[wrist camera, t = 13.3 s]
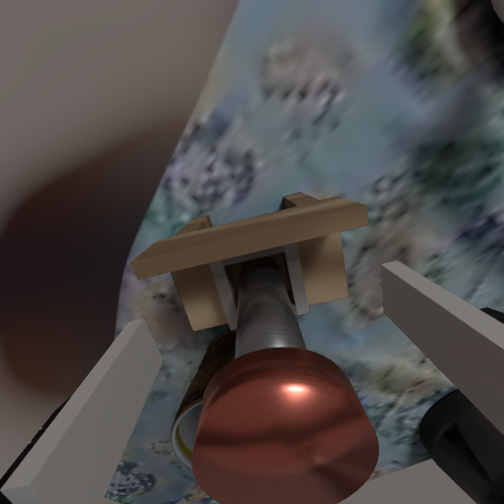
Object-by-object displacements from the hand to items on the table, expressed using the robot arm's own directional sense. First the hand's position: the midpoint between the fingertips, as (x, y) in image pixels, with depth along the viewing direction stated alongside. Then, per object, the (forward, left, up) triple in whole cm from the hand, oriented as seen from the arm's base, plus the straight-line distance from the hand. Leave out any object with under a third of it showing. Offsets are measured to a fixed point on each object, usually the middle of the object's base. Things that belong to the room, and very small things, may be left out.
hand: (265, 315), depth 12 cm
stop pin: (0, 0, -5) cm, 5 cm away
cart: (-1, 0, -13) cm, 13 cm away
